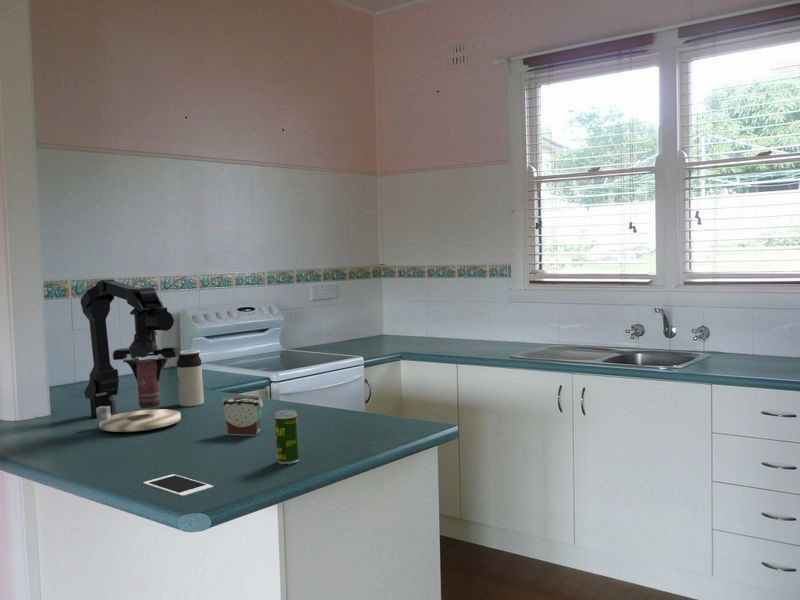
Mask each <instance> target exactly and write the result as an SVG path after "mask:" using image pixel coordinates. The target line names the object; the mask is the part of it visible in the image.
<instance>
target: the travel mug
mask: <svg viewBox="0 0 800 600" xmlns="http://www.w3.org/2000/svg"><path fill="white" fill-rule="evenodd" d="M200 352H201V350H199V349H187V350H180V355H179V356H177V357H178V358H177V360H176V369H177V371H176V372H177V373H176V374H177V384H178V387H177V388H178V389H177V390H178V403H179V406H180V407H183V408H184V407H185V408H186V407H188V408H190V407H199V406H201V405H203V404H204V403H205V398H204V397H205V395H204V381H203V367H202V365H203V363H202V359H201V357H200Z"/></svg>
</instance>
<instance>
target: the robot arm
mask: <svg viewBox="0 0 800 600" xmlns="http://www.w3.org/2000/svg"><path fill="white" fill-rule="evenodd" d="M115 298H119V299H122V300H125V301H126V303H127V305H129V306H130V307H132V308H133V309H132V310H131V311H130V313H129V315H131V316H134V317H133V318H134V331H135V334H134V336H133V341H132V342H131V343H130V345H129V347H122V348H117V349H114V351H113V352H112V360H114V361H116V360H117V361H119V360H122V361H123V363H126V364H127V365H129V367H130V369H131V370H132V372H133V374H134V376H135V379H136V381H137V367H136V364H137V361H139V360H140V358H147V357H148V356H152V357H153V356H154V357H156V356H157V357H158V358H156V362H157V381H159V382H160V380H161V378H162V376H163V372H164V368H165V366H166V364H167V362H168V361H169V360H170V359H172V358H176V357H178V356H179V355H180V351H181V348H180V347H179V346H178V345H174V346H173V345H170V346H168V345H167V346H165V347H162V348H159V349H158V345H157V331H161V332H162V331H164V332H165V331H166V332H168V331H170V330H171V329H172V328H173V325H174V322H175V320H174V319H175V318H174V316H173V314H172V313H171V312H170V311H168V307H167V306H165V307H164V304H163V302H162V301H161V299H160V297H159V295H158V293H157V292H156V289H155V288H153V287H151V286H149V287H148V286H147V287H146V286H142V287H141V286H140V287H135V286H133V285H129V284H126V283H122V282H119V281H116V280H115V279H101V280H99V281H97V283H96V284H95V285H93V286H92V287H90V288H89V289H87V290H86V291H85V293H83V295H82V296H81V298H80V304H81V305H80V306H81V310H82V313H83V315H84V316H85V317H86V318H87V320H88V321H89V331H90V340H91V341H90V342H91V349H92V350H91V351H92V361H93V362H92V363H93V367H92V369H91V370H90V373H89V382H88V385H87V386H86V388H85V390H84V392H83V393H84V398H85V399H87V400H88V399H89V404H90V414H91V415H89V416H88V418H93V419H94V418H97V413H96V408H98V407H100V406H110V410H111V416H112V415H115V414H117V411H116V401H115V399H114V396H117V395H118V390H119V384H120V383H119V382H120V379H119V370H118V369H117V368H114V367H113V365H111V357H110V348H109V347H110V346H109V339H108V338H109V336H108V330H107V329H108V327H107V317H108V315H109V313H110V311H111V303H112V302H113V301H114V299H115ZM137 383H138V381H137Z"/></svg>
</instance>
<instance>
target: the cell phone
mask: <svg viewBox="0 0 800 600" xmlns="http://www.w3.org/2000/svg"><path fill="white" fill-rule="evenodd" d="M143 485H146V486H149V487H151V488H152V487H153V488H156V489H158V490H162V491H164V492H168V493H171V494H174V495H177V496H181V497H184V496H188V495H191V494H195V493H198V492H201V491H204V490H205V491H206V490H208V489H212V488H214V485H211V484H208V483H205V482H202V481H198V480H195V479H191V478H188V477H185V476H182V475H178V474H174V473H172V474H169V475H165V476H162V477H158V478H153V479H150V480H147V481H143Z"/></svg>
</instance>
